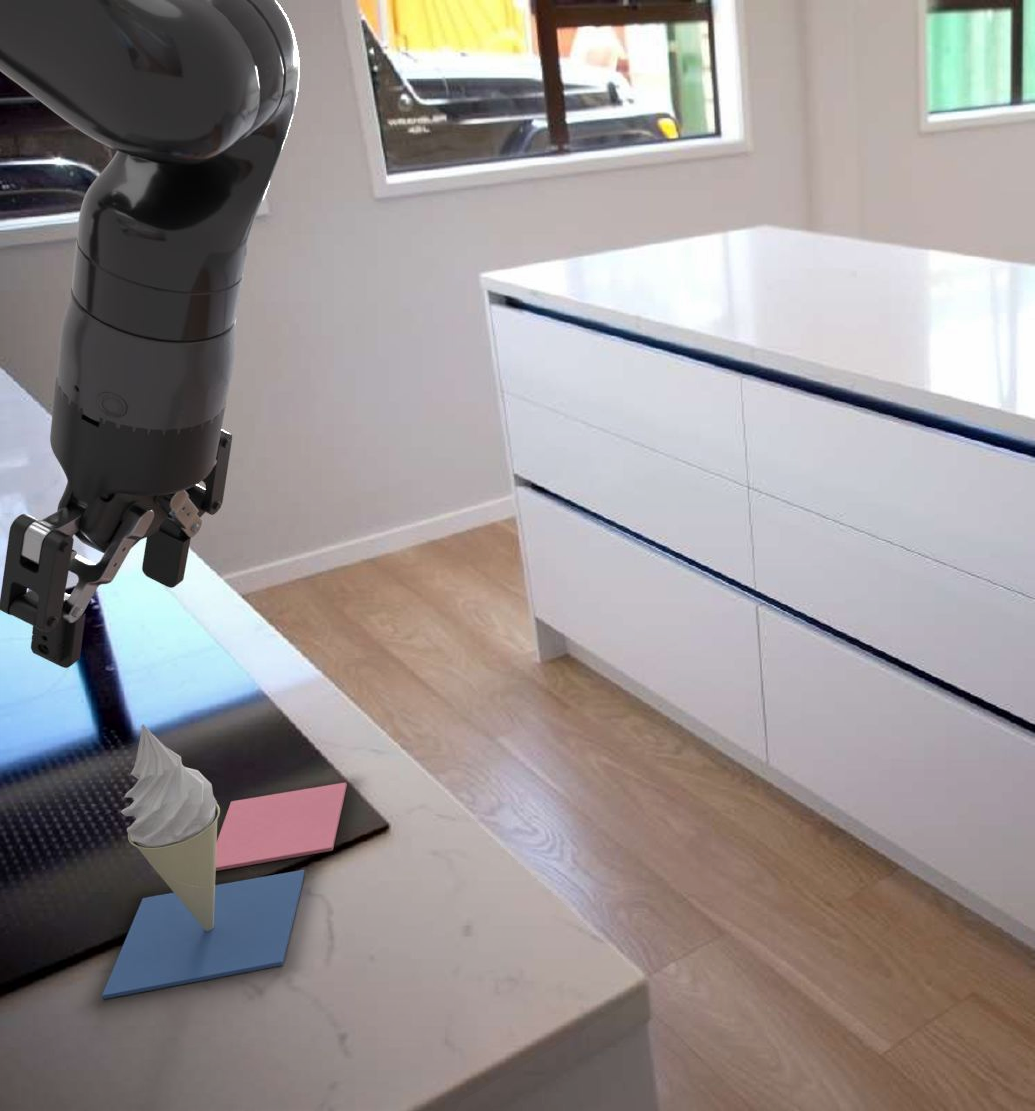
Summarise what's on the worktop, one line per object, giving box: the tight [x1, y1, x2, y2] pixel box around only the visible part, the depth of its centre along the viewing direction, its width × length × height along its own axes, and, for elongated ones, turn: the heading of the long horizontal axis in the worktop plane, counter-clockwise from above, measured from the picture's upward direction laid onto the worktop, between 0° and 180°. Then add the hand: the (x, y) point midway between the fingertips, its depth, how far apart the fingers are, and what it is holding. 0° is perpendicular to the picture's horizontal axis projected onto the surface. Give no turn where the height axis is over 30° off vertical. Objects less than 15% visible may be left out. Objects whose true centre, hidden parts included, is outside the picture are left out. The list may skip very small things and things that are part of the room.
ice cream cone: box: [120, 724, 221, 931], centre depth 76 cm, size 5×5×15 cm
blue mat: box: [101, 869, 306, 1000], centre depth 79 cm, size 10×9×1 cm
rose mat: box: [216, 781, 348, 872], centre depth 89 cm, size 8×8×1 cm
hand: (111, 616), depth 71 cm, fingers open, 8 cm apart
